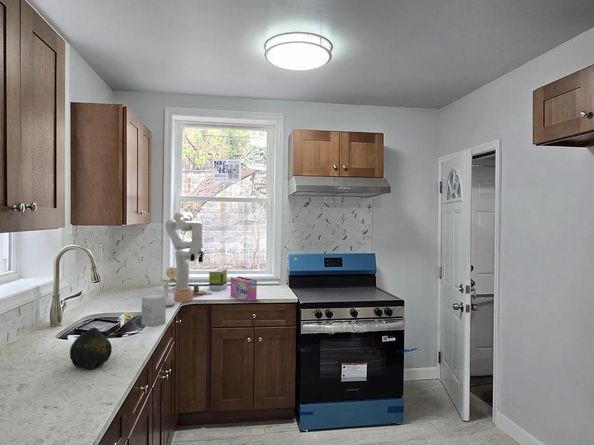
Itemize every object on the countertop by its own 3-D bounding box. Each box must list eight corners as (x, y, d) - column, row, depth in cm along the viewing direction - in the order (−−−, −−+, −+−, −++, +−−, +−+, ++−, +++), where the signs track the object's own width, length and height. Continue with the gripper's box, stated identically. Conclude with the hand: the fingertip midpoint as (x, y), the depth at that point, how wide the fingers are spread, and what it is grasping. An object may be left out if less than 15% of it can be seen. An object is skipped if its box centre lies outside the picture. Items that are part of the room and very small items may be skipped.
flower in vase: (156, 308, 257) (156, 268, 256) (157, 304, 268) (157, 266, 267) (177, 307, 260) (178, 268, 260) (178, 303, 271) (178, 265, 271)
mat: (179, 294, 301) (179, 293, 301) (198, 291, 314) (198, 290, 314) (193, 297, 290) (193, 296, 290) (212, 294, 303) (212, 293, 303)
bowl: (170, 299, 283) (170, 290, 282) (185, 296, 292) (186, 288, 292) (180, 302, 275) (181, 293, 274) (196, 299, 284) (196, 290, 284)
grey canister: (154, 320, 227) (154, 293, 227) (165, 323, 222) (166, 295, 222) (140, 324, 219) (141, 296, 219) (152, 327, 215) (152, 298, 214)
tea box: (215, 286, 334) (215, 268, 334) (227, 287, 333) (227, 268, 333) (208, 289, 320) (209, 271, 319) (221, 290, 318) (221, 271, 318)
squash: (70, 363, 148) (98, 326, 155) (56, 354, 158) (83, 320, 165) (100, 380, 156) (126, 345, 163) (85, 371, 166) (109, 338, 173)
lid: (182, 293, 301) (183, 285, 301) (198, 291, 312) (198, 283, 312) (193, 296, 293) (194, 287, 292) (209, 293, 303) (209, 285, 303)
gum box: (229, 295, 299) (229, 277, 299) (238, 294, 304) (238, 276, 304) (247, 301, 281) (247, 281, 281) (256, 299, 286) (257, 280, 286)
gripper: (185, 238, 304) (185, 260, 304) (199, 239, 293) (199, 263, 293) (194, 237, 310) (193, 260, 310) (208, 238, 298) (207, 262, 299)
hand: (196, 261), depth 302 cm, fingers open, 9 cm apart
